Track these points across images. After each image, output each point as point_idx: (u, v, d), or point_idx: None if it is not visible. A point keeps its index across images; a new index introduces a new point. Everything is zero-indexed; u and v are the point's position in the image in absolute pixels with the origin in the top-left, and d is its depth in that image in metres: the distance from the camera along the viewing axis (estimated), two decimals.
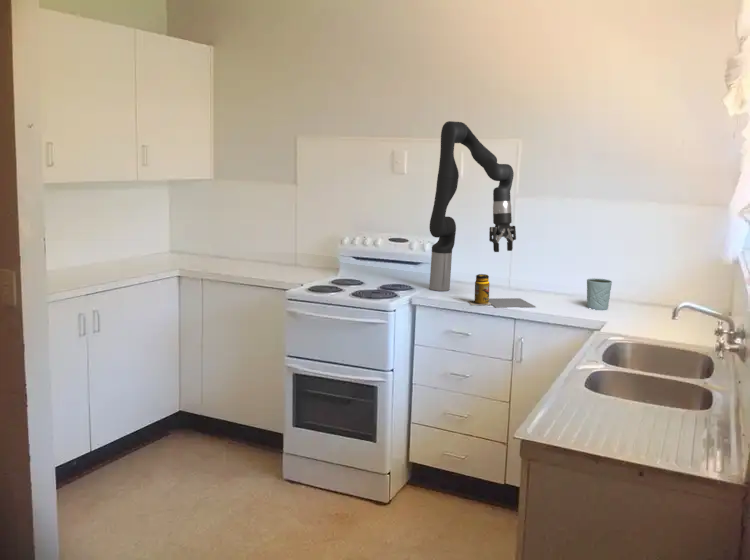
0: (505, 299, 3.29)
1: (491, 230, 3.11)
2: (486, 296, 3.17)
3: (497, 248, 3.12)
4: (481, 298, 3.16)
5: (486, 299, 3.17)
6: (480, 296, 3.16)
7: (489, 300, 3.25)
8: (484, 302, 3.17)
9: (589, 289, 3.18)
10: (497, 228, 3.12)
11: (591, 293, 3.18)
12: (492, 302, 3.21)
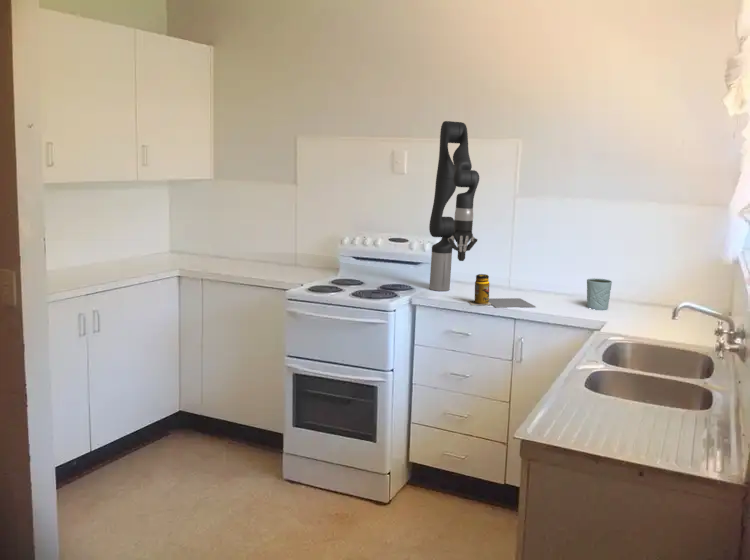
0: (505, 299, 3.29)
1: (449, 242, 3.12)
2: (486, 296, 3.17)
3: (460, 257, 3.13)
4: (481, 298, 3.16)
5: (486, 299, 3.17)
6: (480, 296, 3.16)
7: (489, 300, 3.25)
8: (484, 302, 3.17)
9: (589, 289, 3.18)
10: (454, 236, 3.11)
11: (591, 293, 3.18)
12: (492, 302, 3.21)
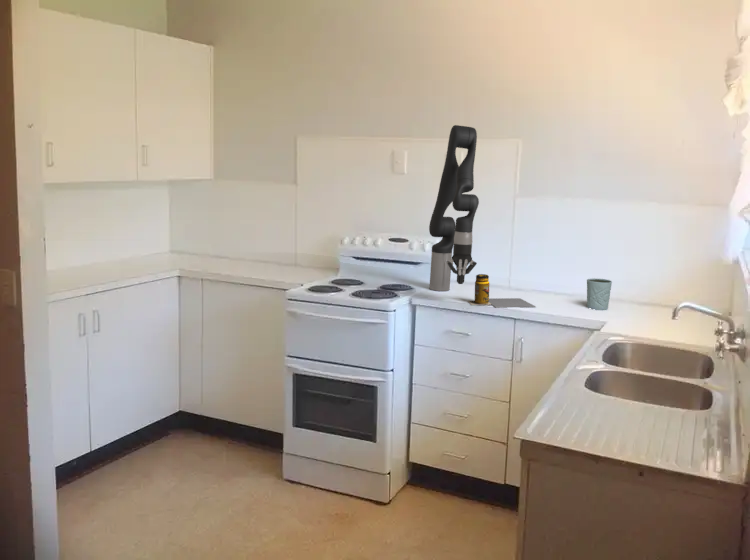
0: (505, 299, 3.29)
1: (448, 265, 3.13)
2: (486, 296, 3.17)
3: (459, 280, 3.15)
4: (481, 298, 3.16)
5: (486, 299, 3.17)
6: (480, 296, 3.16)
7: (489, 300, 3.25)
8: (484, 302, 3.17)
9: (589, 289, 3.18)
10: (453, 260, 3.13)
11: (591, 293, 3.18)
12: (492, 302, 3.21)
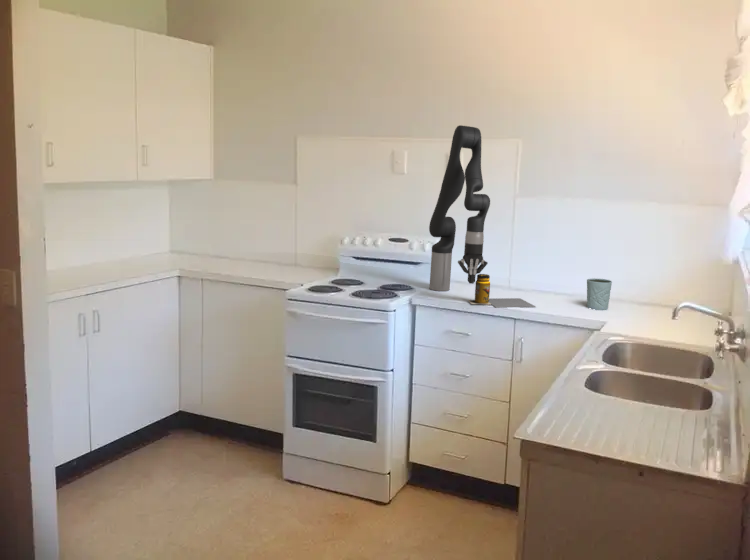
0: (505, 299, 3.29)
1: (459, 264, 3.15)
2: (486, 296, 3.17)
3: (470, 280, 3.16)
4: (481, 297, 3.16)
5: (486, 299, 3.17)
6: (480, 295, 3.16)
7: (489, 300, 3.25)
8: (484, 302, 3.17)
9: (589, 289, 3.18)
10: (464, 259, 3.14)
11: (591, 293, 3.18)
12: (492, 302, 3.21)
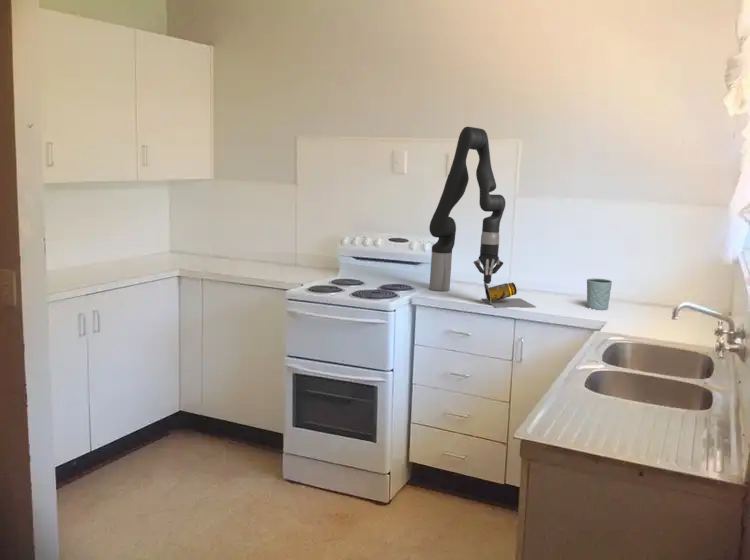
0: (505, 299, 3.29)
1: (475, 265, 3.16)
2: (497, 297, 3.17)
3: (486, 280, 3.17)
4: (495, 293, 3.17)
5: (494, 298, 3.17)
6: (497, 291, 3.17)
7: None
8: (491, 297, 3.17)
9: (589, 289, 3.18)
10: (480, 260, 3.15)
11: (591, 293, 3.18)
12: (492, 302, 3.21)
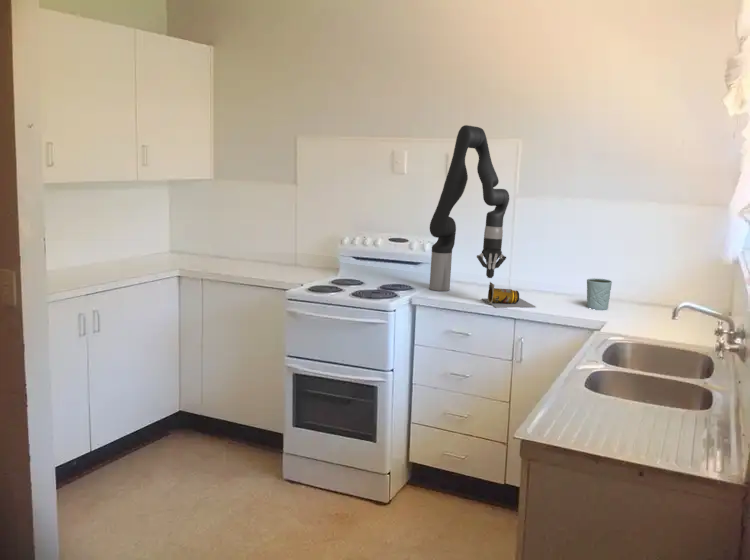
0: None
1: (478, 259, 3.16)
2: (499, 299, 3.18)
3: (489, 274, 3.17)
4: (499, 294, 3.17)
5: (496, 299, 3.17)
6: (500, 293, 3.17)
7: None
8: (494, 297, 3.17)
9: (589, 289, 3.18)
10: (483, 254, 3.15)
11: (591, 293, 3.18)
12: (492, 302, 3.21)
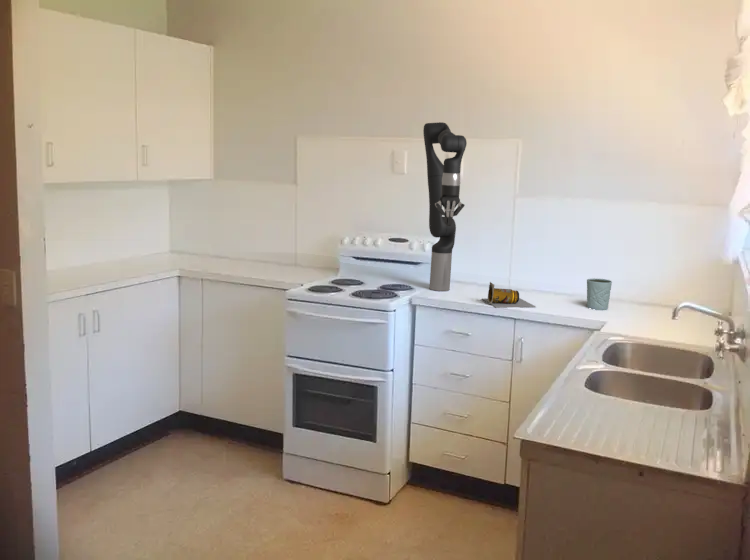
0: None
1: (436, 207, 3.14)
2: (499, 299, 3.18)
3: (447, 222, 3.15)
4: (499, 294, 3.17)
5: (496, 299, 3.17)
6: (500, 293, 3.17)
7: None
8: (494, 297, 3.17)
9: (589, 289, 3.18)
10: (441, 201, 3.13)
11: (591, 293, 3.18)
12: (492, 302, 3.21)
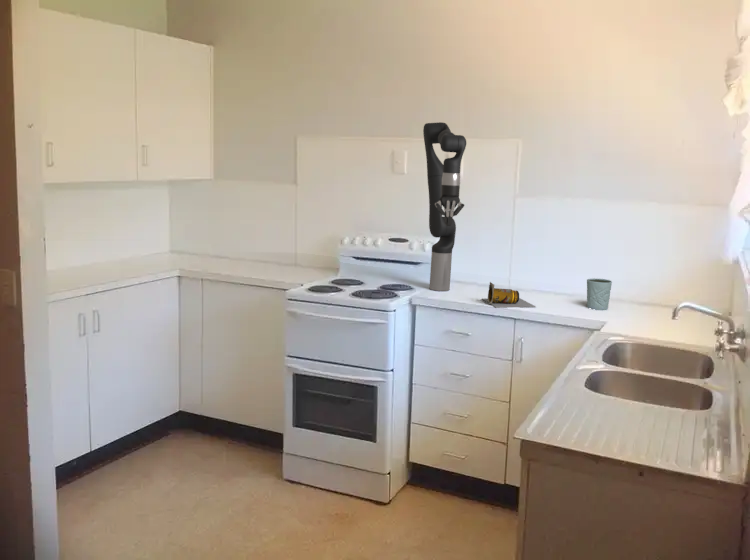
0: None
1: (436, 206, 3.14)
2: (499, 299, 3.18)
3: (447, 222, 3.15)
4: (499, 294, 3.17)
5: (496, 299, 3.17)
6: (500, 293, 3.17)
7: None
8: (494, 297, 3.17)
9: (589, 289, 3.18)
10: (441, 201, 3.13)
11: (591, 293, 3.18)
12: (492, 302, 3.21)
